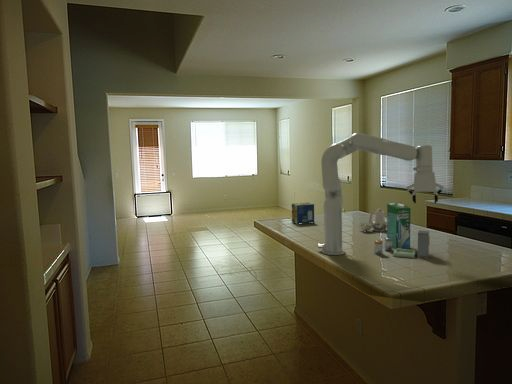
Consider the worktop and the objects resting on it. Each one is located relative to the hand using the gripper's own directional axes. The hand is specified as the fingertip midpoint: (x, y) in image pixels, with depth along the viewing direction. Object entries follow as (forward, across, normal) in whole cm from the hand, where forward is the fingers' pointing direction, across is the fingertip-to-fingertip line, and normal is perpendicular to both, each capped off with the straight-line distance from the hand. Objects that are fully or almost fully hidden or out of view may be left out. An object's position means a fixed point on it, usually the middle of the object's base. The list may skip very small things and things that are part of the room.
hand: (425, 203), depth 194 cm
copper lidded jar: (+27, -24, -3) cm, 36 cm away
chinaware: (+28, -32, +59) cm, 73 cm away
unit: (+28, -2, 0) cm, 28 cm away
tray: (+28, -10, -1) cm, 29 cm away
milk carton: (+28, -15, +17) cm, 36 cm away
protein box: (+26, -93, +74) cm, 122 cm away
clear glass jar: (+27, -19, +6) cm, 34 cm away
